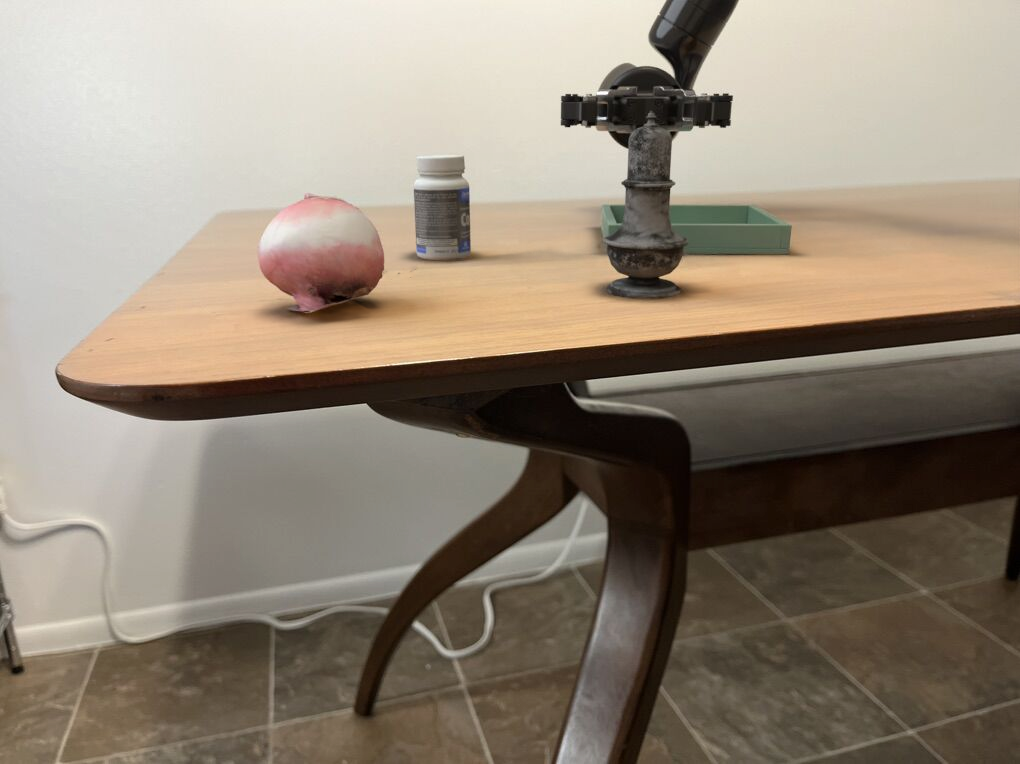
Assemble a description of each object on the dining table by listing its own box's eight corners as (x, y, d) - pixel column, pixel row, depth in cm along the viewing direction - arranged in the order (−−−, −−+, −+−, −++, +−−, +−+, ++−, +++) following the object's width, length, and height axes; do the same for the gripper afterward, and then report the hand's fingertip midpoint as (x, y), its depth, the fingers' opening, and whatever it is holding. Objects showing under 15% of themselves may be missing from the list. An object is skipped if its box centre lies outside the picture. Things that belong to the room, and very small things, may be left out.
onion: (403, 297, 56) (398, 190, 53) (361, 326, 48) (353, 203, 46) (295, 292, 57) (285, 188, 55) (239, 320, 50) (225, 201, 48)
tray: (752, 229, 84) (754, 204, 83) (789, 254, 70) (792, 225, 69) (600, 228, 85) (601, 204, 84) (607, 253, 71) (608, 224, 70)
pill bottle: (474, 259, 69) (472, 157, 66) (418, 262, 68) (413, 157, 65) (467, 250, 73) (465, 153, 70) (414, 252, 72) (410, 154, 70)
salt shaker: (703, 292, 56) (716, 110, 53) (640, 303, 53) (650, 111, 49) (644, 278, 61) (653, 110, 57) (584, 288, 58) (588, 110, 54)
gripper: (570, 68, 79) (556, 61, 63) (721, 66, 77) (744, 59, 62) (568, 148, 81) (555, 160, 66) (714, 149, 79) (735, 161, 64)
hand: (646, 111), depth 64 cm, fingers open, 8 cm apart
